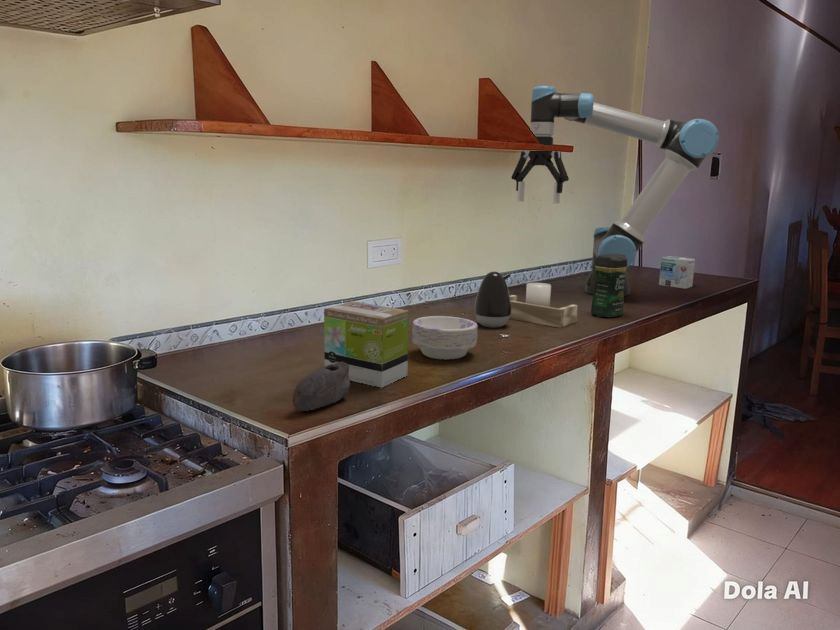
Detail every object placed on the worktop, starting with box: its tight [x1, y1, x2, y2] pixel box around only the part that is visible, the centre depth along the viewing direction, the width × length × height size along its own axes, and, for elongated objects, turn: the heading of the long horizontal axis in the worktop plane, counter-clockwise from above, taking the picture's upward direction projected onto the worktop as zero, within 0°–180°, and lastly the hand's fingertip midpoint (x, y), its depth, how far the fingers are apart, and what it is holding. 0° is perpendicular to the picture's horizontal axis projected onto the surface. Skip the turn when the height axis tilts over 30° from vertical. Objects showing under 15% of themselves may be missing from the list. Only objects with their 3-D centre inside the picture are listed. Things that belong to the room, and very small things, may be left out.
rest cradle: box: [509, 294, 578, 329], centre depth 204 cm, size 10×22×5 cm, turn 50°
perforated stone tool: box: [292, 361, 351, 412], centre depth 129 cm, size 15×5×7 cm, turn 146°
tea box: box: [323, 300, 410, 388], centre depth 145 cm, size 15×10×15 cm
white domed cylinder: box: [525, 282, 552, 307], centre depth 205 cm, size 7×7×10 cm
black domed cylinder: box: [473, 271, 511, 329], centre depth 194 cm, size 10×10×15 cm
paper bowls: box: [411, 315, 479, 361], centre depth 164 cm, size 15×15×8 cm
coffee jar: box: [590, 254, 628, 318], centre depth 210 cm, size 10×8×19 cm
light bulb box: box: [658, 255, 696, 290], centre depth 264 cm, size 11×7×11 cm, turn 49°
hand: (538, 202), depth 232 cm, fingers open, 13 cm apart
